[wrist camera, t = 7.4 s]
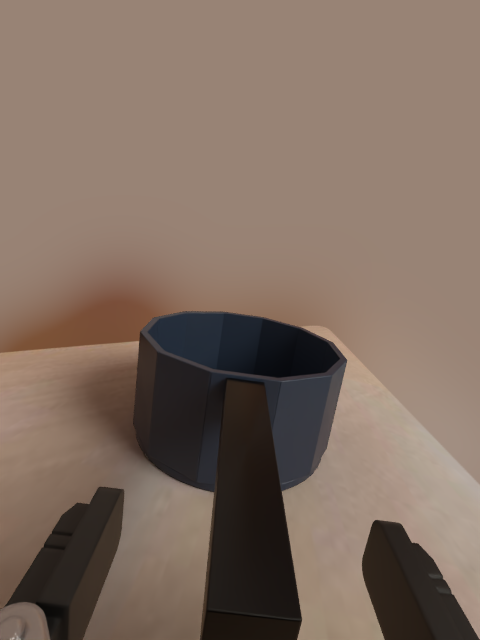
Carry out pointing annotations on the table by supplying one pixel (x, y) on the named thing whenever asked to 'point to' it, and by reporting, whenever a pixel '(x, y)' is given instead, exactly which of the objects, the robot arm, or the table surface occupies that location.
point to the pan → (239, 448)
